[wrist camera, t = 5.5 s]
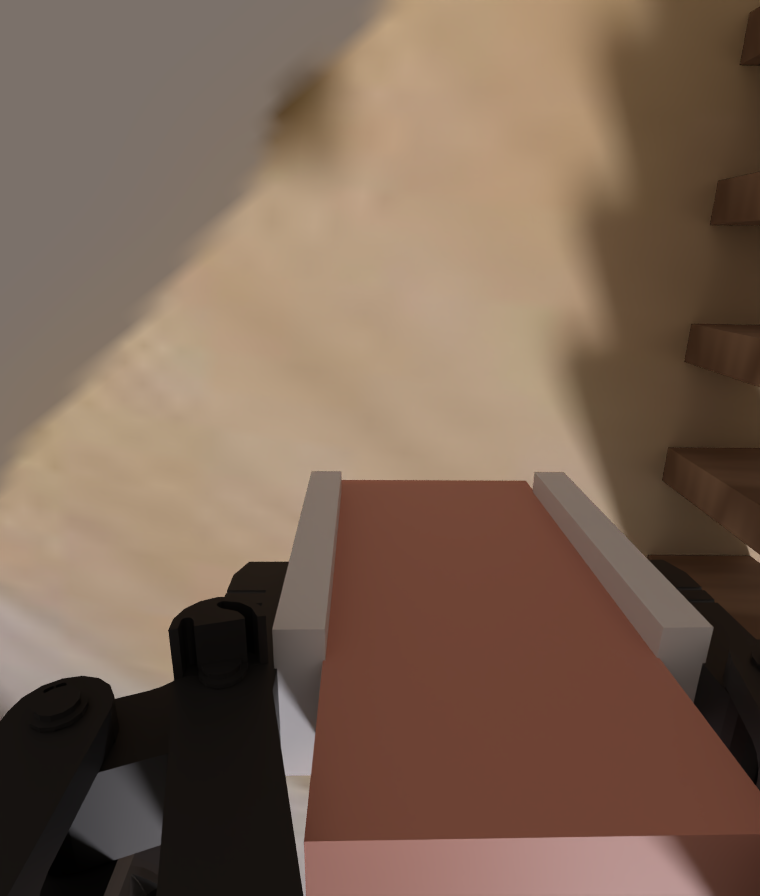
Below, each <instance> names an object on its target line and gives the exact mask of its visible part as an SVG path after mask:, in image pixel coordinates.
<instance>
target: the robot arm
mask: <svg viewBox="0 0 760 896" xmlns="http://www.w3.org/2000/svg"><path fill="white" fill-rule="evenodd" d="M533 493H534V494H535V495H536V497H537V498H538V499H539V501H540V502H541V503H542V505H543V506H544V507H545V509H546V510H547V511H548V513H549V514H550V515H551V517H552V518H553V520H554V521H555V522H556V524H557V525H558V526H559V528H560V529H561V530H562V532H563V533H564V534H565V536H566V537H567V538H568V540H569V541H570V542H571V544H572V545H573V546H574V548H575V549H576V550H577V552H578V553H579V554H580V556H581V557H582V558H583V560H584V561H585V562H586V564H587V565H588V566H589V568H590V569H591V570H592V572H593V573H594V574H595V576H596V577H597V578H598V580H599V581H600V582H601V584H602V585H603V586H604V588H605V589H606V590H607V592H608V593H609V594H610V596H611V597H612V598H613V600H614V601H615V602H616V604H617V605H618V606H619V608H620V609H621V610H622V612H623V613H624V614H625V616H626V617H627V618H628V620H629V621H630V622H631V624H632V625H633V626H634V628H635V629H636V630H637V632H638V633H639V634H640V636H641V637H642V638H643V640H644V641H645V642H646V644H647V645H648V647H649V648H650V649H651V651H652V652H653V653H654V655H655V656H656V657H657V658H660V659H661V661H662V662H663V663H664V665H665V666H666V667H667V669H668V670H669V671H670V673H671V674H672V675H673V677H674V678H675V679H676V681H677V682H678V683H679V685H680V686H681V687H682V689H683V690H684V691H685V693H686V694H687V695H688V697H689V698H690V699H691V701H692V702H693V703H694V705H695V706H696V707H697V709H698V710H699V711H700V713H701V714H702V715H703V716H704V718H705V719H706V720H707V722H708V723H709V724H710V726H711V727H712V728H713V730H714V731H715V732H716V734H717V735H718V736H719V738H720V739H721V740H722V742H723V743H724V744H725V746H726V747H727V748H728V750H729V751H730V752H731V754H732V755H733V756H734V758H735V759H736V760H737V762H738V763H739V764H740V766H741V767H742V768H743V770H744V771H745V772H746V774H747V775H748V776H749V777H750V779H751V780H752V781H753V783H754V784H755V785H756V787H757V788H758V789H759V791H760V639H755V638H754V637H753V636H752V635H751V634H750V633H749V632H748V631H747V630H746V629H745V628H744V627H743V626H742V625H741V624H740V623H739V622H738V621H737V620H735V619H734V618H733V617H732V616H731V615H730V614H729V613H728V612H727V611H726V610H725V609H724V608H723V607H722V606H721V605H720V604H719V603H715V601H714V599H713V598H712V597H711V596H710V595H709V594H708V593H707V592H706V591H705V590H702V589H701V588H702V587H701V586H700V585H699V584H698V583H697V582H696V581H695V580H693V579H692V578H691V577H690V576H689V575H688V574H687V573H686V572H684V571H683V570H681V569H679V568H677V567H675V566H674V565H672V564H670V563H668V562H666V561H665V560H648V559H647V558H646V557H645V556H644V555H643V554H642V553H641V552H640V551H639V550H638V549H637V548H636V547H635V545H634V544H633V543H632V542H631V541H630V540H629V539H628V538H627V537H626V536H625V535H624V534H623V533H622V532H621V531H620V530H619V529H618V528H617V527H616V526H615V525H614V524H613V523H612V522H611V521H610V520H609V519H608V518H607V516H606V515H605V514H604V513H603V512H602V511H601V510H600V509H599V508H598V507H597V506H596V505H595V504H594V503H593V502H592V501H591V500H590V499H589V498H588V497H587V496H586V495H585V494H584V493H583V492H582V491H581V490H580V489H579V488H578V486H577V485H576V484H575V483H574V482H573V481H572V480H571V479H570V478H569V477H568V476H567V475H566V474H565V473H564V472H535V474H534V483H533ZM340 501H341V471H312V472H311V476H310V480H309V484H308V488H307V492H306V496H305V500H304V504H303V508H302V512H301V516H300V520H299V524H298V528H297V532H296V536H295V540H294V544H293V548H292V552H291V556H290V560H289V562H249V563H247V564H246V565H245V566H244V567H243V568H241V569H240V570H239V571H238V572H237V573H235V574H234V575H233V578H232V580H231V583H230V585H229V587H228V590H227V593H226V595H225V597H216V598H212V599H208V600H204V601H200V602H198V603H196V604H194V605H192V606H190V607H188V608H185V609H184V610H183V611H182V612H181V613H179V614H178V615H177V616H176V617H175V618H174V619H173V621H172V623H171V625H170V628H169V630H168V631H169V639H170V648H171V656H172V664H173V673H174V681H173V682H171V683H168V684H166V685H164V686H162V687H159V688H156V689H153V690H150V691H146V692H142V693H138V694H134V695H130V696H125V697H121V698H117V699H115V698H114V694H113V692H112V689H111V686H110V685H109V684H108V683H106V682H104V681H103V680H101V679H99V678H94V677H87V676H78V677H71V678H64V679H60V680H57V681H55V682H52V683H49V684H46V685H43V686H41V687H39V688H38V689H36V690H34V691H33V692H31V693H29V694H28V695H26V696H24V697H23V698H21V699H20V700H19V701H18V702H17V703H16V704H15V705H14V706H13V707H12V708H11V709H10V710H9V711H8V712H7V713H6V715H5V716H4V717H3V718H2V720H1V721H0V896H303V891H302V884H301V878H300V871H299V864H298V857H297V851H296V844H295V837H294V831H293V824H292V817H291V811H290V804H289V797H288V790H287V784H286V777H285V776H288V775H311V770H312V760H313V750H314V741H315V731H316V721H317V712H318V702H319V692H320V683H321V673H322V663H323V660H325V659H326V649H327V638H328V628H329V617H330V607H331V596H332V586H333V575H334V565H335V554H336V544H337V533H338V522H339V512H340Z"/></svg>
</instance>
